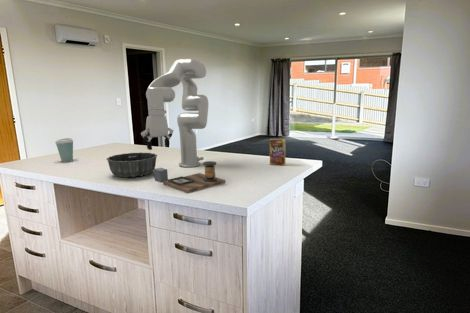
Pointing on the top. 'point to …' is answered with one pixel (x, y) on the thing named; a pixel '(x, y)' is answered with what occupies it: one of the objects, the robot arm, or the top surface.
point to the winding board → (196, 180)
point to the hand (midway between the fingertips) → (158, 148)
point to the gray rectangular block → (161, 174)
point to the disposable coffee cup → (65, 149)
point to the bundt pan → (132, 164)
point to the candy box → (277, 151)
